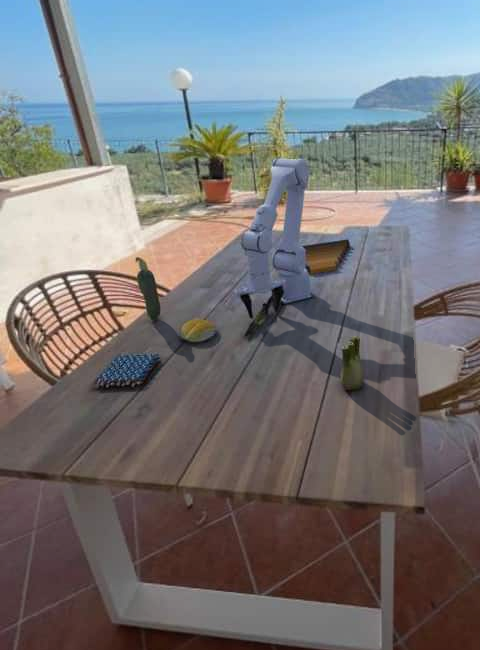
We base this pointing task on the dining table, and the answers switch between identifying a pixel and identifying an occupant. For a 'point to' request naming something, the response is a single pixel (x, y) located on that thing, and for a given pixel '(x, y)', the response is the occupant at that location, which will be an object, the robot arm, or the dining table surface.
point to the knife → (259, 315)
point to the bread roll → (198, 330)
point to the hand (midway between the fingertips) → (263, 313)
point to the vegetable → (148, 289)
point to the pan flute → (324, 255)
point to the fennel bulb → (351, 365)
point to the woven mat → (127, 370)
